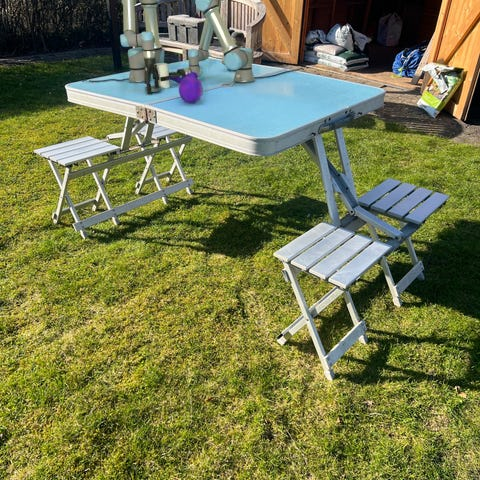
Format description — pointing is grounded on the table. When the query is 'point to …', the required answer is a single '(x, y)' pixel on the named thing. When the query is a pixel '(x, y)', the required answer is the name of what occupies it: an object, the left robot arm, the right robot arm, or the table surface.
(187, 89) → the toy
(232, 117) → the table surface
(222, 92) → the table surface
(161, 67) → the jar
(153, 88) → the lid
